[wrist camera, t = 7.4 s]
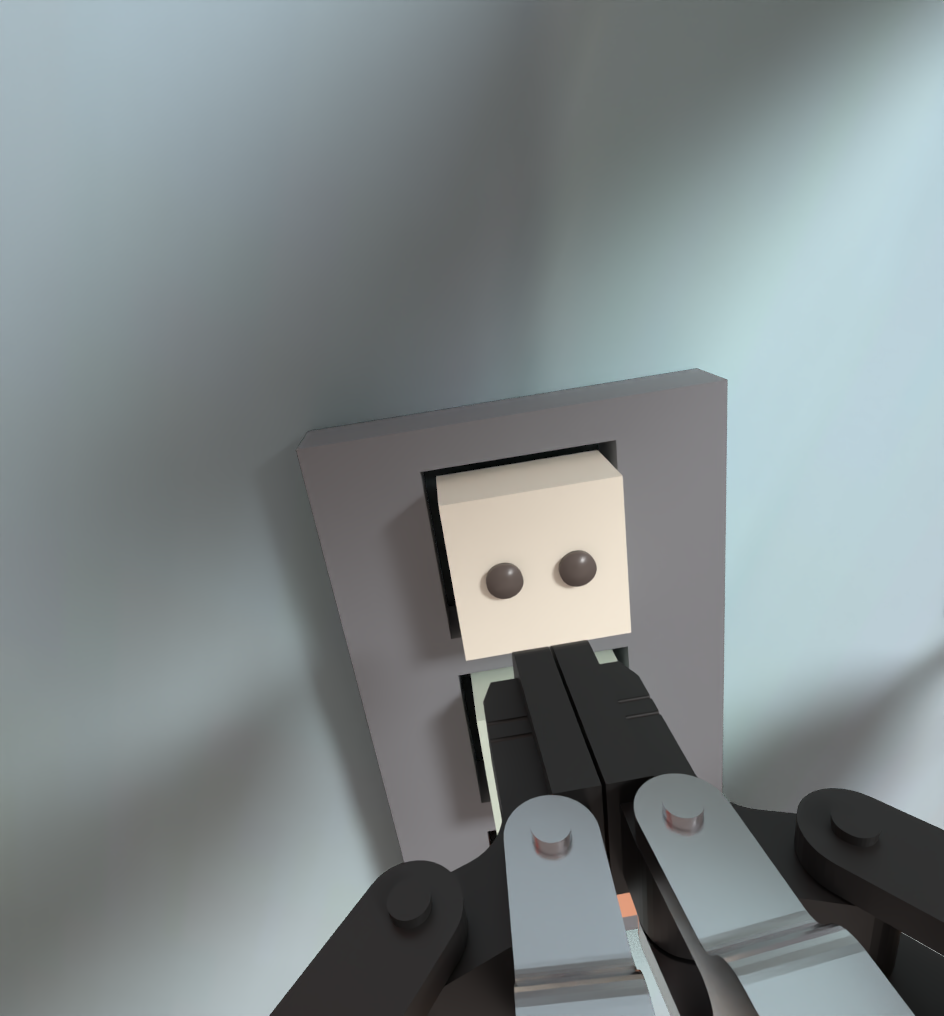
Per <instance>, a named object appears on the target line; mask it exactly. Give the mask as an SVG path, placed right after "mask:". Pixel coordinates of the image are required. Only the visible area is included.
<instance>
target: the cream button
mask: <svg viewBox="0 0 944 1016" xmlns="http://www.w3.org/2000/svg"><path fill="white" fill-rule="evenodd" d="M436 483H437V494H438V506H439V512H440V517H441V523H442V528H443V534H444V540H445V545H446V551H447V556H448V562H449V568H450V573H451V579H452V585H453V590H454V596H455V601H456V607H457V613H458V618H459V624H460V630H461V635H462V641H463V646H464V652H465V658H466V661H468V660H474V659H480V658H485V657H491V656H497V655H503V654H509V653H512V652H516V651H522V650H528V649H534V648H540V647H546V646H548V647H550V646H552V645H558V644H564V643H570V642H576V641H582V640H590V639H596V638H602V637H608V636H614V635H620V634H625V633H631V618H630V600H629V582H628V563H627V545H626V527H625V509H624V490H623V476H622V475H621V474H620V473H619V472H618V470H617V469H616V468H615V467H614V466H613V465H612V464H611V463H610V462H609V461H608V460H607V459H606V458H605V457H604V456H603V455H602V454H601V453H600V452H599V451H598V450H593V451H587V452H581V453H575V454H569V455H563V456H557V457H551V458H544V459H538V460H532V461H526V462H520V463H514V464H508V465H502V466H496V467H490V468H484V469H477V470H471V471H465V472H459V473H453V474H447V475H441V476H436Z"/></svg>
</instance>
